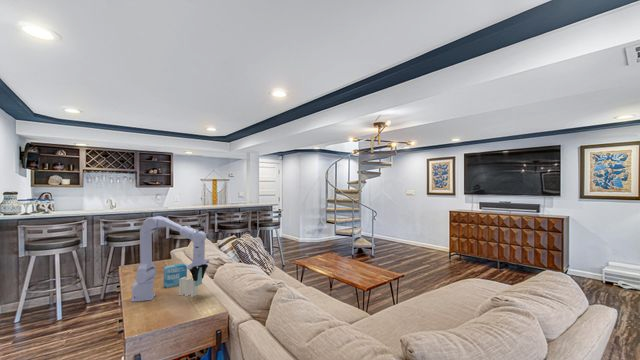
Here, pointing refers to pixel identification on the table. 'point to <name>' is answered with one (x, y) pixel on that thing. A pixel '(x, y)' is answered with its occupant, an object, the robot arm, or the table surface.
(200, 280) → the teal domino
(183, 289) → the domino
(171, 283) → the data package
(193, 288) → the domino
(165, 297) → the table surface
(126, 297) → the table surface
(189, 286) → the domino
